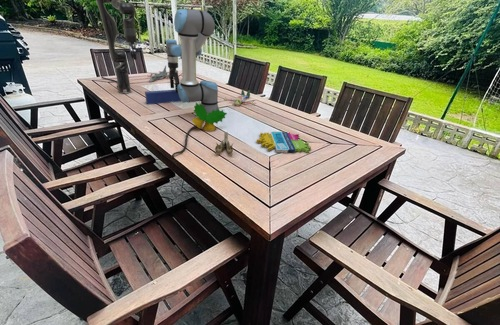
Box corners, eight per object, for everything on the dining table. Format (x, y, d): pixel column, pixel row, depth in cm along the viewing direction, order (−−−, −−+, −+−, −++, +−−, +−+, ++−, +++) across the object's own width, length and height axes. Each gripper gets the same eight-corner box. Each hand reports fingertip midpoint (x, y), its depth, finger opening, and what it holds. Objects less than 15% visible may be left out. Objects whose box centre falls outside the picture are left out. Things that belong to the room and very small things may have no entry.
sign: (313, 150, 142) (258, 149, 139) (312, 153, 143) (258, 152, 140) (301, 132, 164) (254, 130, 161) (301, 134, 165) (254, 133, 162)
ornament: (218, 133, 171) (224, 110, 169) (221, 134, 163) (227, 111, 161) (186, 125, 162) (192, 101, 160) (189, 126, 155) (195, 101, 153)
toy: (261, 91, 228) (254, 99, 202) (261, 99, 231) (253, 108, 205) (231, 87, 233) (220, 95, 207) (230, 95, 236) (219, 104, 210)
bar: (180, 99, 216) (179, 89, 212) (182, 101, 212) (181, 90, 208) (146, 102, 203) (144, 91, 199) (147, 104, 199) (146, 93, 195)
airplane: (141, 75, 284) (140, 65, 279) (171, 73, 297) (170, 64, 292) (147, 84, 255) (146, 73, 250) (179, 82, 269) (178, 72, 264)
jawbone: (234, 135, 144) (233, 125, 135) (233, 160, 138) (232, 151, 129) (217, 135, 144) (216, 125, 135) (216, 160, 138) (214, 150, 129)
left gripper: (123, 33, 193) (127, 57, 201) (126, 35, 183) (130, 60, 191) (134, 34, 197) (137, 57, 205) (137, 36, 186) (141, 60, 194)
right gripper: (163, 59, 205) (165, 86, 215) (172, 65, 186) (174, 94, 197) (173, 59, 208) (174, 85, 219) (183, 65, 190) (184, 94, 201)
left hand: (134, 58), depth 198 cm, fingers open, 8 cm apart
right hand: (174, 90), depth 208 cm, fingers open, 13 cm apart
